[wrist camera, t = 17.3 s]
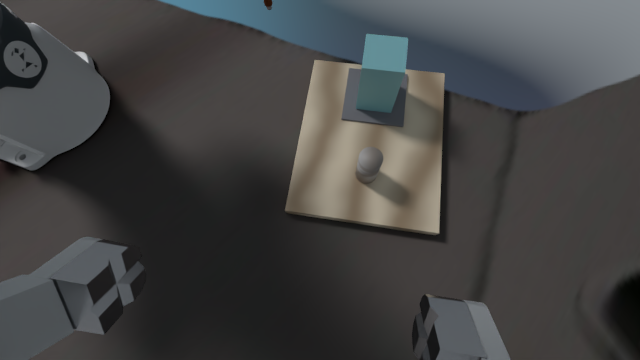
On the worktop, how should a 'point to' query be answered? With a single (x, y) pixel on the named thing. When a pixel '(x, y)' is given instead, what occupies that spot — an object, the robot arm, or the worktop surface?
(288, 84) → the worktop surface
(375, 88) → the teal pillar
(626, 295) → the worktop surface
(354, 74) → the pad
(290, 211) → the post board
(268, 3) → the magnifying glass
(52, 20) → the worktop surface
